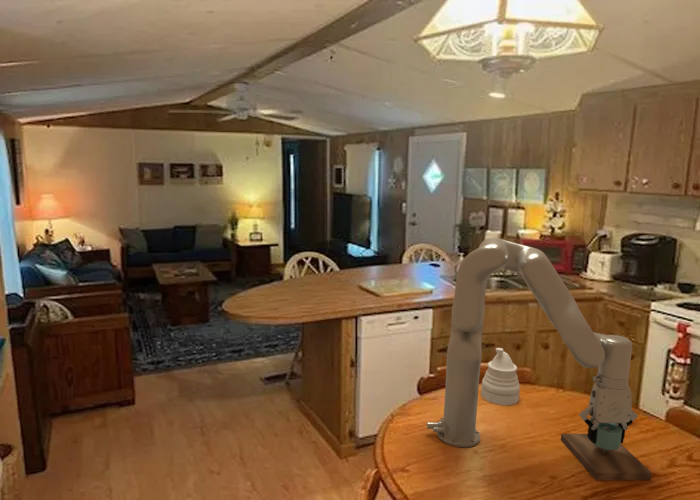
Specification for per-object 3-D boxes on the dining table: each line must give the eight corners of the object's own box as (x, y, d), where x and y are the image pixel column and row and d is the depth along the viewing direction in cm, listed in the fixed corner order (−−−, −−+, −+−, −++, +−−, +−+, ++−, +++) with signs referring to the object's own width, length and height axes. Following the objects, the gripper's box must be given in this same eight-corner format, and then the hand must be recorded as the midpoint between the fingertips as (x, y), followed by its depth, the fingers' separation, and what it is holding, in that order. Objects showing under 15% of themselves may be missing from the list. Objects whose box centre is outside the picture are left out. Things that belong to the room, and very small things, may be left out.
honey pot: (499, 408, 174) (503, 357, 172) (473, 393, 186) (476, 345, 183) (526, 400, 181) (531, 351, 178) (499, 386, 192) (503, 340, 189)
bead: (599, 450, 141) (601, 432, 140) (586, 436, 148) (588, 420, 147) (624, 449, 142) (626, 432, 141) (610, 436, 148) (612, 420, 148)
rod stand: (595, 480, 135) (599, 448, 134) (560, 439, 155) (563, 411, 154) (651, 479, 136) (655, 448, 135) (609, 439, 156) (612, 411, 154)
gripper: (588, 386, 138) (581, 448, 141) (651, 386, 139) (643, 448, 142) (574, 375, 145) (568, 434, 148) (634, 375, 146) (627, 433, 149)
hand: (605, 440), depth 145 cm, fingers closed on bead, 7 cm apart
